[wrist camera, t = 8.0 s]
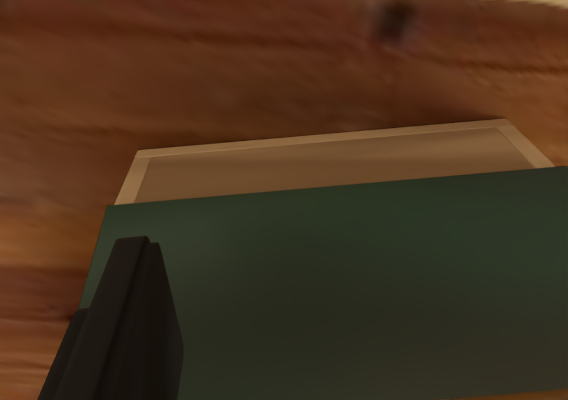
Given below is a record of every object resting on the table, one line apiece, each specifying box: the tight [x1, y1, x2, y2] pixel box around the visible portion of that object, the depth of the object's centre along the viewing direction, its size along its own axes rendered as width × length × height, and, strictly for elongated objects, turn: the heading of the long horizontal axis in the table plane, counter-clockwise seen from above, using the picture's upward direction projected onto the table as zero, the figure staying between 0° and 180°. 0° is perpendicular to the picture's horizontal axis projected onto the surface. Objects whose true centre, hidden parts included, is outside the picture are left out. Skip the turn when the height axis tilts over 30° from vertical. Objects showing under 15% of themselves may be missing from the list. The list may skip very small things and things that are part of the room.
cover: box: [78, 166, 568, 400], centre depth 13 cm, size 14×17×5 cm
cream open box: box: [114, 119, 556, 205], centre depth 25 cm, size 13×17×5 cm
